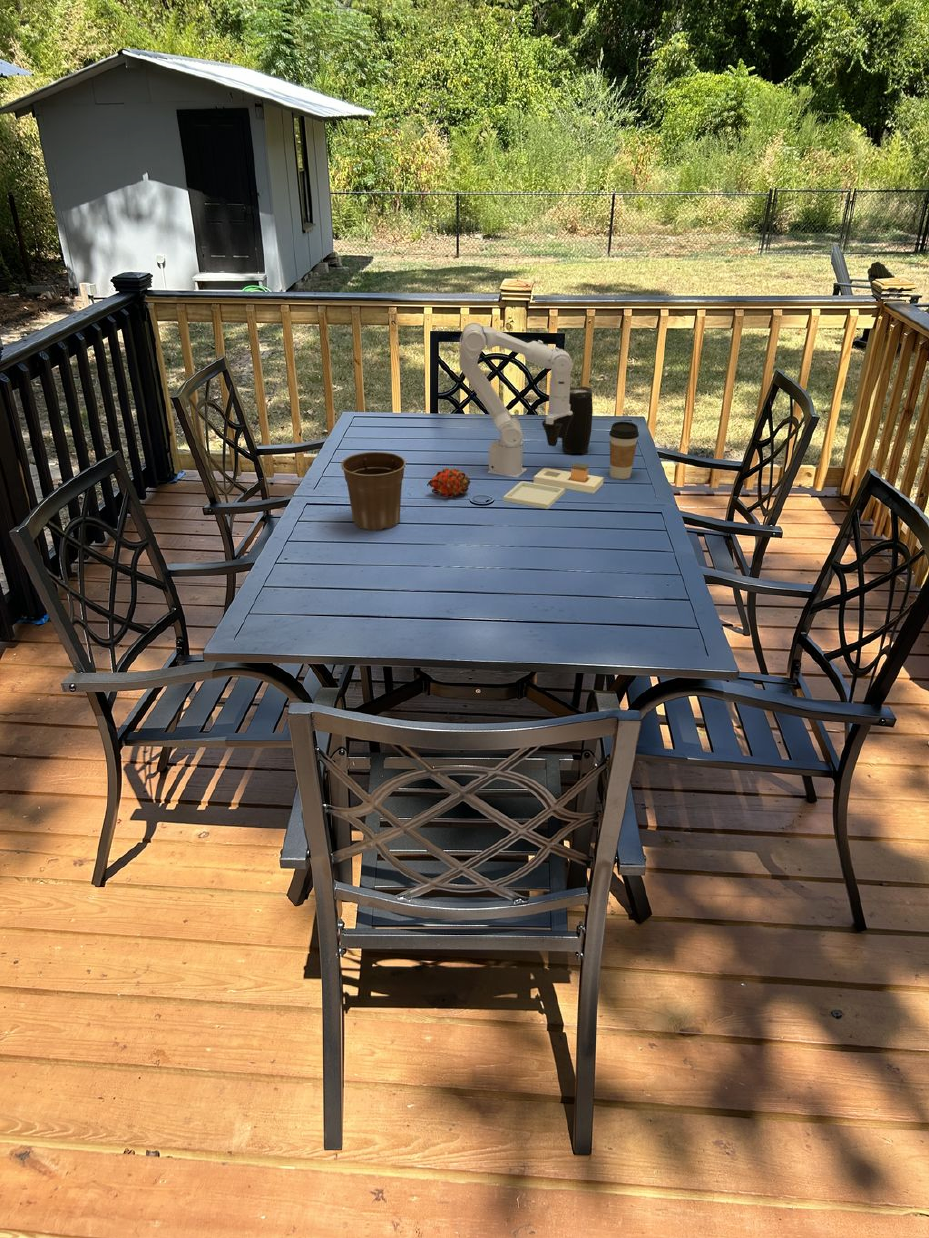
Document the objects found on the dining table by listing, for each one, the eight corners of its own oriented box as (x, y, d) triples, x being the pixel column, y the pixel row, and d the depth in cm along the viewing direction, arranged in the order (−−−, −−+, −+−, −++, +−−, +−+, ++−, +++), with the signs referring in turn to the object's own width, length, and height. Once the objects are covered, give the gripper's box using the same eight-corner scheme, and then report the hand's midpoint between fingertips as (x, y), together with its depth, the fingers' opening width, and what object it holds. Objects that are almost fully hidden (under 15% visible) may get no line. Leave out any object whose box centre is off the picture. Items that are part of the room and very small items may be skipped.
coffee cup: (633, 471, 267) (638, 421, 260) (635, 481, 260) (640, 430, 253) (605, 470, 268) (609, 420, 261) (606, 480, 261) (610, 429, 253)
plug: (570, 486, 256) (571, 465, 253) (573, 482, 258) (575, 462, 255) (583, 488, 254) (585, 468, 251) (587, 484, 256) (588, 464, 253)
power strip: (533, 484, 258) (534, 476, 256) (543, 475, 264) (544, 467, 263) (593, 495, 251) (594, 486, 250) (602, 485, 257) (603, 477, 256)
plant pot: (398, 537, 227) (396, 476, 219) (336, 531, 230) (332, 471, 222) (414, 512, 241) (412, 454, 233) (356, 507, 243) (352, 449, 235)
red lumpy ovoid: (473, 502, 251) (431, 508, 252) (471, 476, 254) (429, 482, 255) (469, 486, 243) (425, 491, 244) (467, 459, 246) (424, 465, 247)
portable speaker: (554, 451, 282) (558, 389, 273) (575, 445, 288) (579, 383, 278) (575, 458, 277) (578, 395, 267) (595, 451, 282) (600, 389, 272)
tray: (503, 502, 246) (503, 496, 245) (521, 487, 256) (521, 481, 255) (547, 511, 241) (547, 504, 240) (564, 494, 251) (565, 488, 250)
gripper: (563, 403, 248) (561, 451, 254) (581, 390, 259) (578, 436, 266) (539, 400, 250) (537, 447, 257) (558, 387, 262) (555, 433, 268)
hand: (556, 441), depth 262 cm, fingers open, 7 cm apart
